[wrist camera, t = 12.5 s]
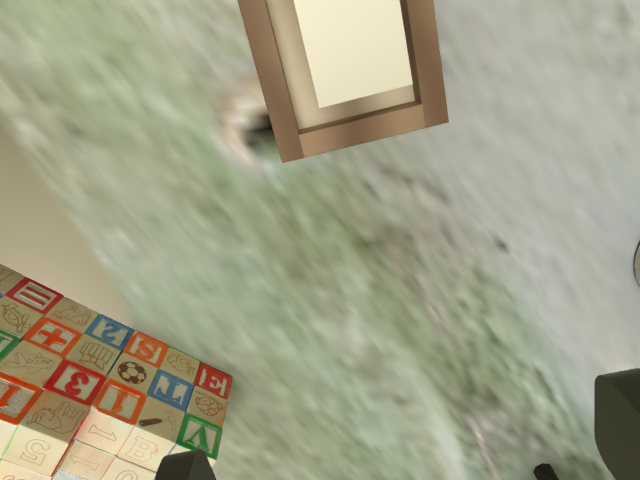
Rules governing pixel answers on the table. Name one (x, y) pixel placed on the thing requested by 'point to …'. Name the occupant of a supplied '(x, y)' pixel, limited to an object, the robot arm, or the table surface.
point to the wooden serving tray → (351, 116)
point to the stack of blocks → (95, 392)
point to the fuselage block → (353, 47)
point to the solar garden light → (545, 472)
